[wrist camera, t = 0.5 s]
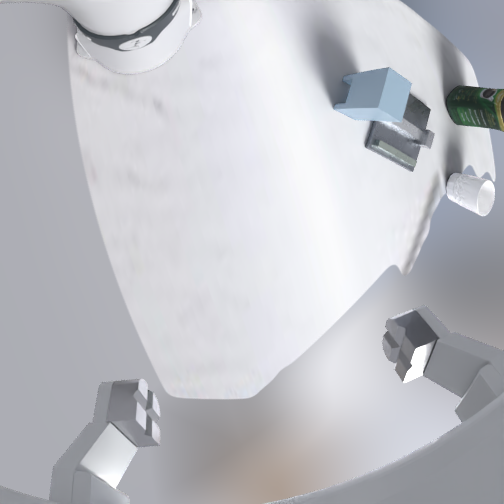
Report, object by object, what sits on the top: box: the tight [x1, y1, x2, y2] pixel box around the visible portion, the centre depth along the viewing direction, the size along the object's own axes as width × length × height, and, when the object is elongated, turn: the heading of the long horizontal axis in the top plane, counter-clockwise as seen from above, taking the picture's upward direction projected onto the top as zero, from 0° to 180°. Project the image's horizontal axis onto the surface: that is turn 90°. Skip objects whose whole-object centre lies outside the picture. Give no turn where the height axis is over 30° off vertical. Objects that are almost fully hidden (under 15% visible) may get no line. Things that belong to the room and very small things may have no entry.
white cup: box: [446, 173, 495, 216], centre depth 51 cm, size 8×8×10 cm
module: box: [334, 67, 412, 122], centre depth 38 cm, size 4×7×12 cm, turn 162°
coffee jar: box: [447, 86, 504, 132], centre depth 40 cm, size 10×8×19 cm
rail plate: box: [366, 94, 434, 172], centre depth 45 cm, size 12×14×4 cm
